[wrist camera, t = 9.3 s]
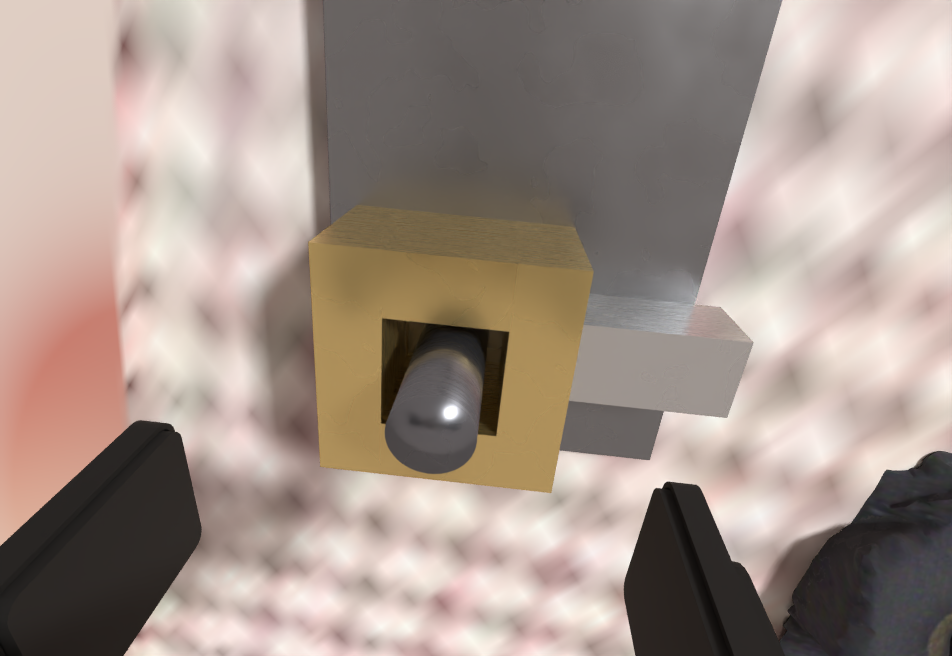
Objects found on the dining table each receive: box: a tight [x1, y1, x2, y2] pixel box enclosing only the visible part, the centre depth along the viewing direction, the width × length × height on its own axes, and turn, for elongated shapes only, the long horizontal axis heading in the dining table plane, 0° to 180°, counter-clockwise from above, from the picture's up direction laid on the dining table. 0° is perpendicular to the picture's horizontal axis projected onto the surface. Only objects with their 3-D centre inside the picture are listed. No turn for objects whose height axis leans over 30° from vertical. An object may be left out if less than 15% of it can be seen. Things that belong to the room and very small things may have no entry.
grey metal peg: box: [385, 323, 489, 474], centre depth 17 cm, size 2×2×8 cm
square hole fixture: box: [308, 0, 782, 493], centre depth 18 cm, size 18×15×6 cm
